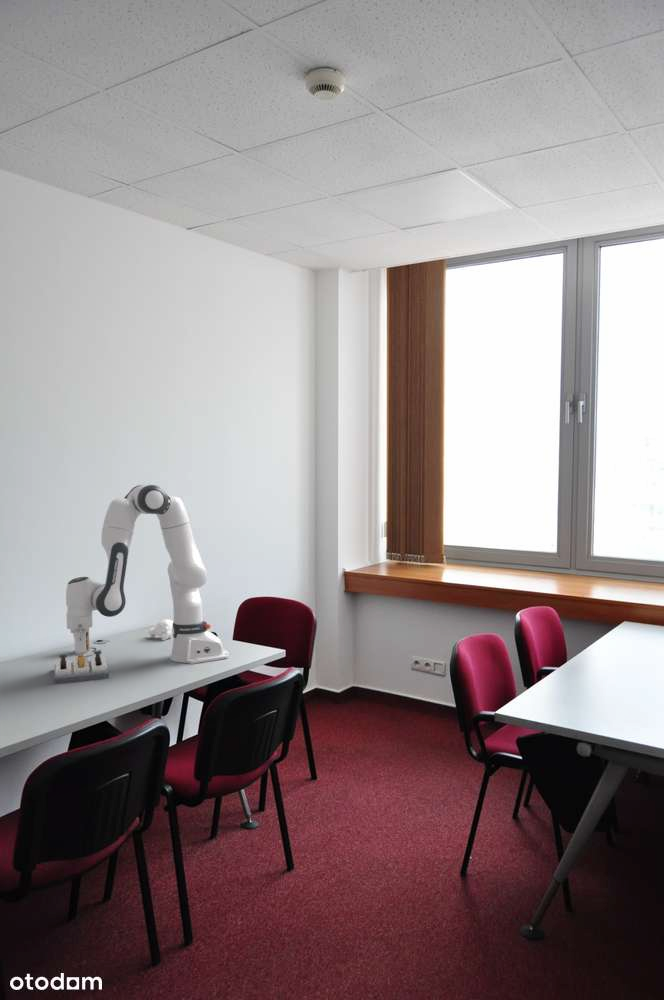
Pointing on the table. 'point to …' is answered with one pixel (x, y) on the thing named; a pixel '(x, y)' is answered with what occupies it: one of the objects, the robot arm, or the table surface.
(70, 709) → the table surface
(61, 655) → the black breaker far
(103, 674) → the breaker board
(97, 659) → the black breaker near arm
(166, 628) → the white crumpled lump
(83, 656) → the orange breaker
